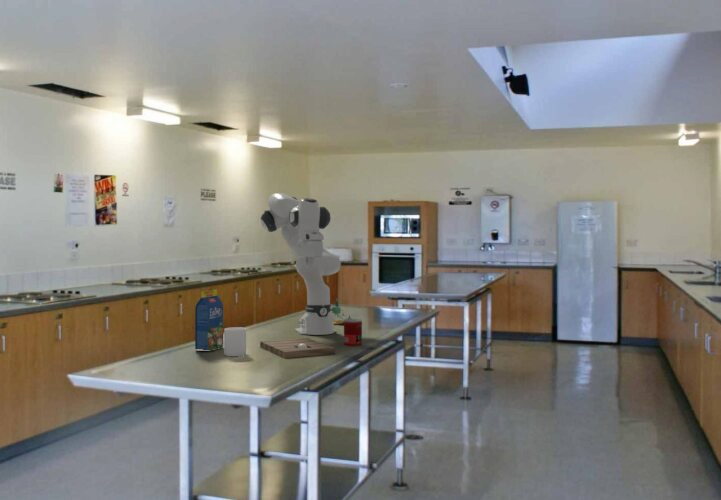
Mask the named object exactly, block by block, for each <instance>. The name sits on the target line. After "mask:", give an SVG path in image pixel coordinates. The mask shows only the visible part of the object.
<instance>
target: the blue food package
mask: <svg viewBox="0 0 721 500" xmlns="http://www.w3.org/2000/svg"><path fill="white" fill-rule="evenodd" d="M200 293H201V295H200V296H201V297H200V299H199V300H198V302H197V303H196V304H195V309H194V310H195V311H194V312H195V314H194V316H195V317H194V320H195V321H194V326H195V327H194V331H195V334H194V340H195V342H194V343H195V346H194V349H203V350H213V349H217V350H219V349H218V348H220V349H222V348H224V305H223V301H222V300H221V299H220V297H219V296H218V289H217V288H216V289H210V290H209V289H208V290H204V291H201V292H200ZM213 351H214V350H213Z"/></svg>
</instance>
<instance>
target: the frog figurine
mask: <svg viewBox="0 0 721 500" xmlns="http://www.w3.org/2000/svg"><path fill="white" fill-rule="evenodd" d="M338 302H339V298H336V300H335V303H334V304H332V306H331V311H330V313H331V314H332V315H333V318H335V317H337V319H333V322H334V325H340V324H344V320H345V319H344V318H343V317H344V316H345V317H346V315H345V314H344V313H341V311H342V312H344V311H343V309H342V308H341V306H340V305H339V303H338ZM341 314H342V315H341ZM347 319H352V317H351V316H350V314H349V315H348V317H347Z"/></svg>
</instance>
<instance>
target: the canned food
mask: <svg viewBox="0 0 721 500" xmlns="http://www.w3.org/2000/svg"><path fill="white" fill-rule="evenodd" d="M343 320H344V323H343V343H344V345H345V346H350V347H357V346H361V345H362V342H363V320H362V319H361V318H351V319H348V318H345V319H343Z"/></svg>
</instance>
